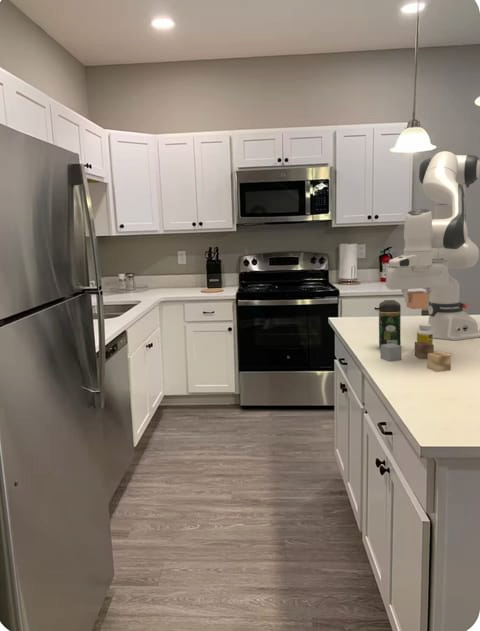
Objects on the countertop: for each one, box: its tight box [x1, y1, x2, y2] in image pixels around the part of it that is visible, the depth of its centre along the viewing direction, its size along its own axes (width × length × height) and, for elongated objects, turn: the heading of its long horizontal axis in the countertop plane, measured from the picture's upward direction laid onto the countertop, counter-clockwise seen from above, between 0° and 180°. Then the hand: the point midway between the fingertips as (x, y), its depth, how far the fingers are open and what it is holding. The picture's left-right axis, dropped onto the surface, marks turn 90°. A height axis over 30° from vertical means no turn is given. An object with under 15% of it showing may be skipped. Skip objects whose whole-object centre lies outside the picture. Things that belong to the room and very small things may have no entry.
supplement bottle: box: [416, 323, 434, 344], centre depth 179 cm, size 5×5×10 cm
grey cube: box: [380, 343, 402, 362], centre depth 171 cm, size 5×5×5 cm
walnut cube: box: [414, 341, 435, 360], centre depth 171 cm, size 5×5×5 cm
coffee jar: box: [378, 299, 402, 350], centre depth 184 cm, size 10×8×19 cm
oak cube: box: [426, 351, 452, 373], centre depth 157 cm, size 5×5×5 cm
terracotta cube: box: [406, 291, 429, 310], centre depth 161 cm, size 5×5×5 cm
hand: (417, 301), depth 161 cm, fingers closed on terracotta cube, 5 cm apart
